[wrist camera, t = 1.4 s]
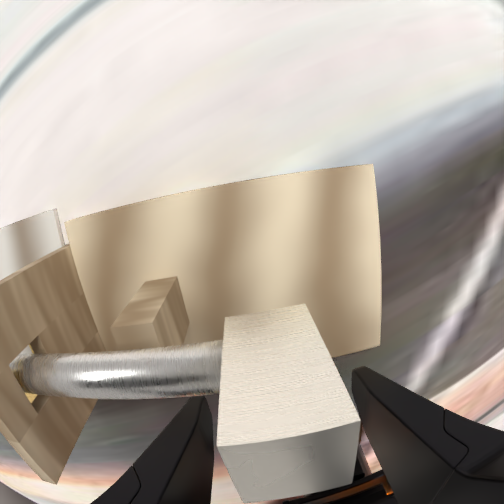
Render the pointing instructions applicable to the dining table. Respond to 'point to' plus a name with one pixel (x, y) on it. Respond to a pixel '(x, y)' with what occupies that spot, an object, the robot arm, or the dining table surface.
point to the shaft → (234, 397)
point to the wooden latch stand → (182, 282)
